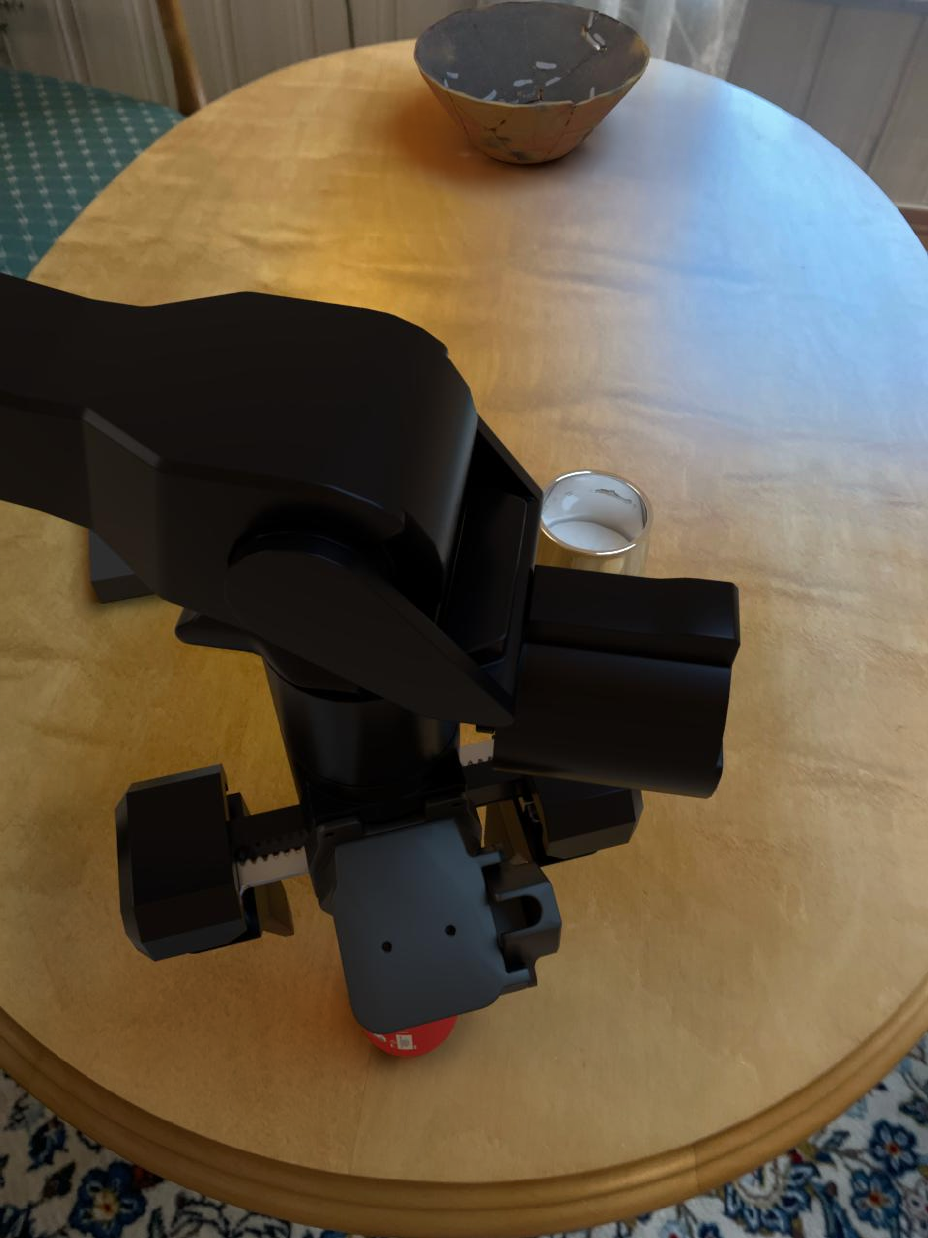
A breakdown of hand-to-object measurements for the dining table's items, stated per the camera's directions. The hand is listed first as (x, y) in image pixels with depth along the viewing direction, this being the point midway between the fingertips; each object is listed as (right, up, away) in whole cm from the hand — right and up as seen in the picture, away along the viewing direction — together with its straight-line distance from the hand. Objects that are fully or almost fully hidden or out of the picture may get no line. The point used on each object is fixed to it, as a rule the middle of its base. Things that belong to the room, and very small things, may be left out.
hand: (392, 899), depth 43 cm
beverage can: (0, -8, +9) cm, 12 cm away
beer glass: (+10, +9, +22) cm, 26 cm away
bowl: (+10, +66, +67) cm, 94 cm away
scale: (-17, +20, +30) cm, 40 cm away
